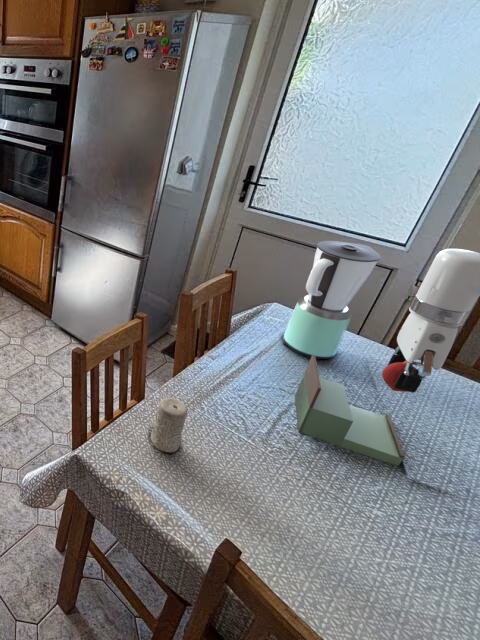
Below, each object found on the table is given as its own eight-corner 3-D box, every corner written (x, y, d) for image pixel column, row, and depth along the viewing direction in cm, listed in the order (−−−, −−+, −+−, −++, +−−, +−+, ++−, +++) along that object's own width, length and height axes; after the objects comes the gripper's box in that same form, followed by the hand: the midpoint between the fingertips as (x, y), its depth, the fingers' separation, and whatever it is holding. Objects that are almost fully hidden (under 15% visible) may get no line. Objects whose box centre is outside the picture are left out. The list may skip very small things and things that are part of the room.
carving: (179, 437, 99) (190, 399, 94) (177, 461, 93) (188, 422, 88) (151, 427, 102) (160, 390, 97) (147, 450, 96) (156, 412, 91)
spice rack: (384, 424, 102) (408, 380, 96) (398, 466, 91) (427, 420, 85) (294, 396, 111) (312, 354, 105) (298, 431, 100) (318, 387, 94)
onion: (419, 396, 89) (436, 367, 85) (401, 402, 87) (417, 373, 84) (387, 378, 94) (402, 350, 90) (369, 384, 92) (384, 355, 89)
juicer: (302, 331, 137) (341, 234, 122) (348, 355, 126) (397, 251, 111) (262, 344, 131) (298, 244, 116) (306, 370, 120) (352, 263, 105)
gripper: (484, 338, 73) (437, 413, 81) (449, 295, 86) (411, 363, 94) (425, 325, 77) (385, 398, 85) (401, 286, 90) (368, 352, 98)
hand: (400, 379), depth 89 cm, fingers closed on onion, 5 cm apart
